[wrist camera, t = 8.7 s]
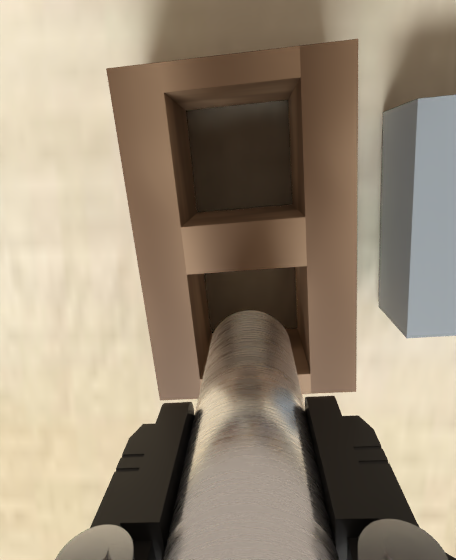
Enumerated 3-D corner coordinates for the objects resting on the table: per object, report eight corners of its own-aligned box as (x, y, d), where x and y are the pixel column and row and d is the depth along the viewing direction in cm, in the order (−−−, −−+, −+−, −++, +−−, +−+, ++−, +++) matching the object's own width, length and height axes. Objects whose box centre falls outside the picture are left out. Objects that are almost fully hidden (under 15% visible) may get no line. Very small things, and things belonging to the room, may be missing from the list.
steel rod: (288, 307, 14) (373, 627, 4) (292, 380, 15) (369, 782, 5) (206, 312, 14) (115, 627, 5) (214, 384, 15) (152, 775, 5)
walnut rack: (329, 71, 18) (358, 38, 13) (333, 342, 22) (356, 391, 17) (143, 92, 19) (106, 68, 14) (179, 350, 23) (160, 400, 18)
